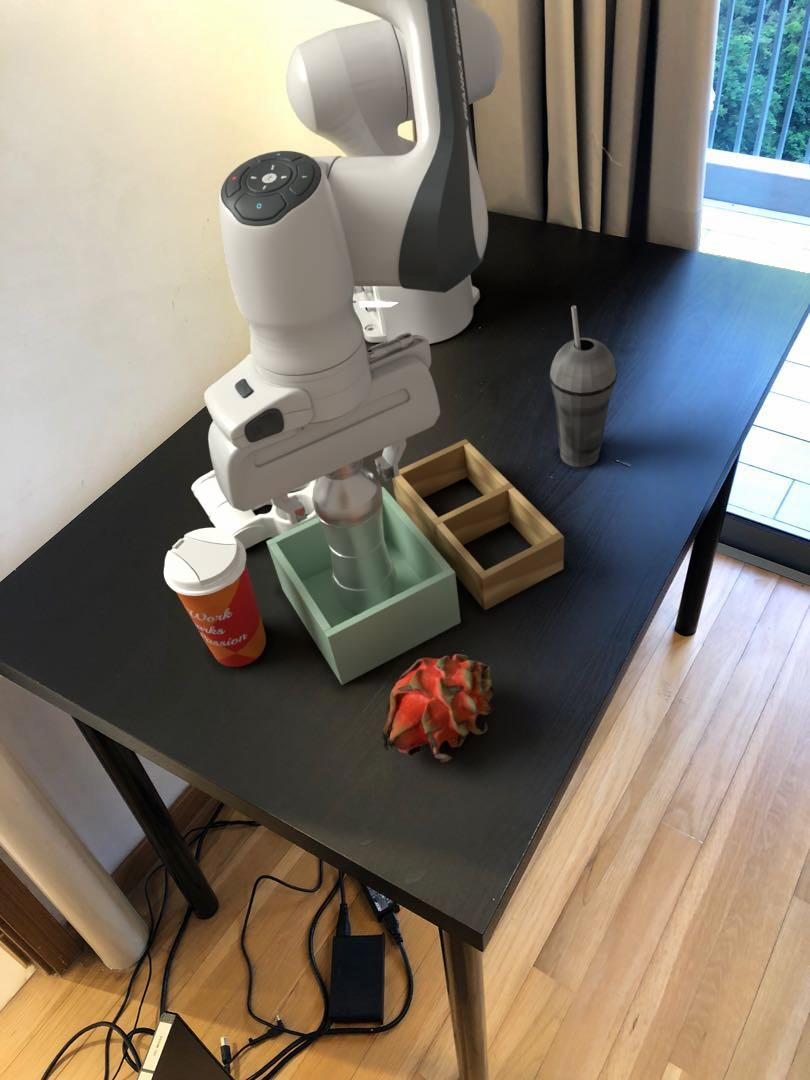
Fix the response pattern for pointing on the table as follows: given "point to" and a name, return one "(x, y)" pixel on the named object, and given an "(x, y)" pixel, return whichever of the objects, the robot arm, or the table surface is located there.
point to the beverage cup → (581, 396)
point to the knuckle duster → (248, 512)
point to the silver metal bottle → (355, 536)
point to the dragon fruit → (437, 704)
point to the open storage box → (385, 627)
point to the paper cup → (217, 594)
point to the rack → (479, 522)
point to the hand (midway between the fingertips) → (343, 496)
